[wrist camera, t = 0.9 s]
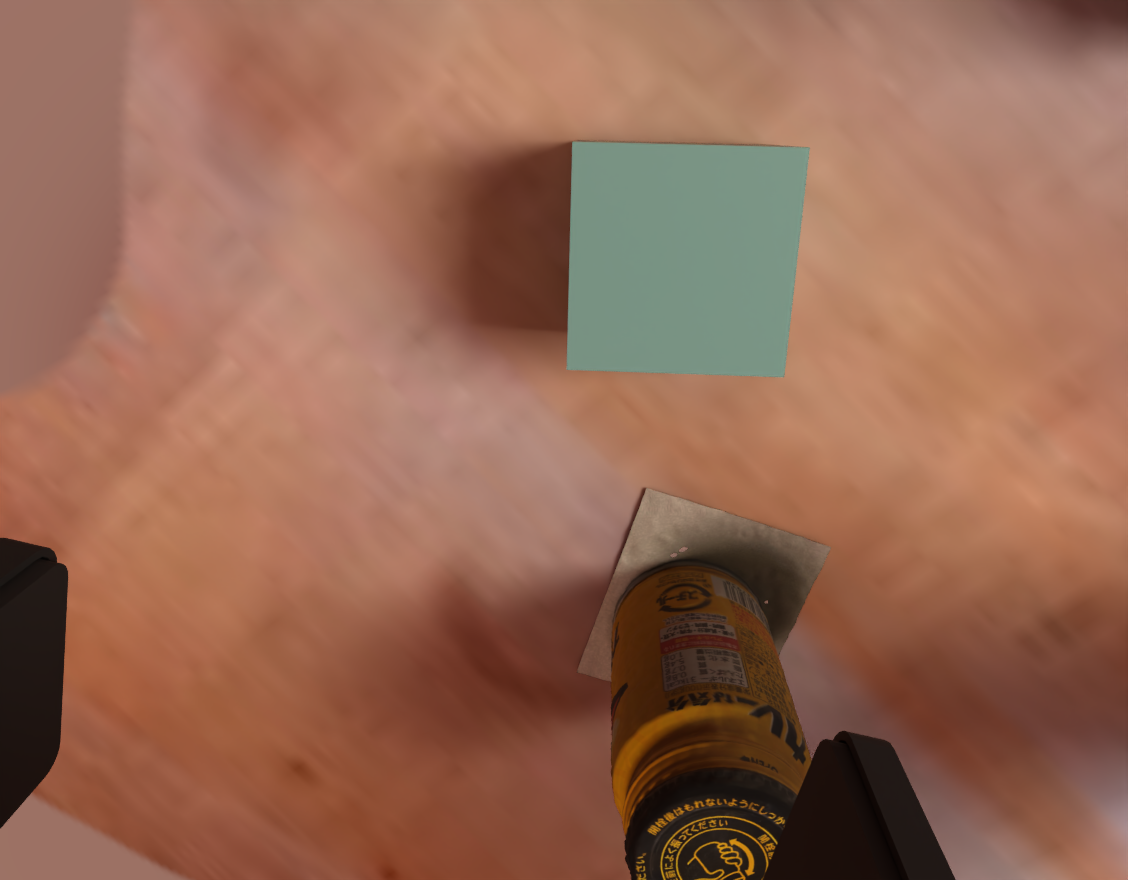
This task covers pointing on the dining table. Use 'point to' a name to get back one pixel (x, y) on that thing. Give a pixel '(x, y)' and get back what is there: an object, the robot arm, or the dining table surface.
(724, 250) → the seafoam cuboid
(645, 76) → the dining table surface
